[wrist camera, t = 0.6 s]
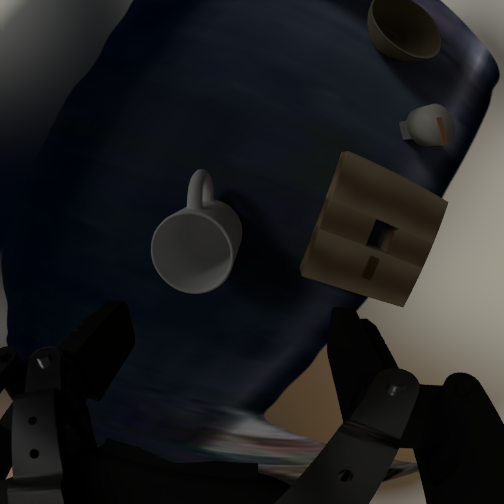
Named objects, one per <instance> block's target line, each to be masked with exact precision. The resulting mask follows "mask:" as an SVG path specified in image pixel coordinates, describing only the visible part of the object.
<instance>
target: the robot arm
mask: <svg viewBox="0 0 504 504" xmlns="http://www.w3.org/2000/svg"><path fill="white" fill-rule="evenodd" d="M134 344H135V333H134V329H133V326H132V322H131V318H130V314H129V310H128V306H127V304H126V303H125V302H122V301H111V300H108V301H106V302H105V303H104V304H103V305H102V306H101V307H100V308H99V309H98V310H97V311H96V312H94V313H93V314H91V315H89V316H87V317H86V318H85V319H84V320H83V321H82V322H81V325H78V326H77V328H76V329H75V330H74V331H73V332H72V333H71V334H70V335H69V336H68V337H67V338H66V339H65V340H64V341H63V342H62V343H61V344H60V345H59V346H58V347H57V348H54V347H45V348H42V349H39V350H37V351H36V352H34V353H33V354H32V355H31V356H30V358H29V359H20V358H19V356H18V354H17V352H16V350H15V349H14V348H13V347H10V346H6V347H2V348H0V393H1V392H2V390H3V389H4V388H5V390H6V391H7V393H8V394H9V396H10V397H11V399H12V400H13V403H12V404H11V405H10V407H9V408H8V409H7V411H6V412H5V414H4V415H3V417H2V418H1V419H0V504H369V502H370V501H371V499H372V498H373V496H374V494H375V493H376V491H377V489H378V488H379V486H380V484H381V482H382V481H383V479H384V477H385V475H386V473H387V471H388V470H389V468H390V466H391V464H392V462H393V460H394V458H395V456H396V454H397V451H398V449H399V448H413V450H414V454H415V458H416V461H417V465H418V469H419V473H420V477H421V481H422V485H423V490H424V494H425V498H426V503H427V504H504V424H503V422H502V420H501V418H500V416H499V415H498V413H497V411H496V409H495V407H494V406H493V404H492V402H491V400H490V399H489V397H488V395H487V394H486V392H485V390H484V389H483V387H482V386H481V384H480V382H479V381H478V380H477V379H476V378H475V377H473V376H472V375H469V374H467V373H453V374H452V375H450V376H448V377H447V378H446V380H445V382H444V384H443V386H439V385H423V384H419V382H418V380H417V378H416V377H415V376H414V375H413V374H412V373H410V372H408V371H406V370H403V369H399V368H398V366H397V364H396V362H395V360H394V358H393V356H392V354H391V352H390V351H389V349H388V347H387V345H386V344H385V341H384V340H383V338H382V336H381V334H380V332H379V330H378V329H377V327H376V325H374V324H373V323H372V322H370V321H369V320H368V319H360V318H359V316H358V314H357V312H356V310H355V308H354V307H353V306H344V307H333V309H332V313H331V320H330V328H329V335H328V342H327V353H328V359H329V363H330V367H331V371H332V375H333V379H334V384H335V388H336V392H337V396H338V401H339V405H340V410H341V414H342V419H343V424H342V425H341V426H340V427H339V428H338V430H337V431H336V433H335V434H334V435H333V437H332V438H331V439H330V441H329V442H328V443H327V444H326V446H325V447H324V448H323V450H322V451H321V452H320V453H319V455H318V456H317V457H316V458H315V460H314V461H313V462H312V463H311V464H310V466H309V467H308V468H307V469H306V470H305V471H304V473H303V474H302V475H301V476H300V477H299V478H298V479H297V480H296V482H295V483H294V484H293V485H292V486H291V485H289V484H288V483H286V482H284V481H282V480H279V479H277V478H274V477H271V476H268V475H265V474H261V473H258V463H237V462H224V461H208V462H195V463H172V462H169V461H167V460H164V459H162V458H160V457H158V456H156V455H154V454H152V453H149V452H147V451H145V450H143V449H142V448H140V447H137V446H133V445H129V444H126V443H122V442H119V441H115V440H112V439H109V438H107V439H106V441H105V443H104V445H103V447H101V446H100V447H98V446H97V443H96V440H95V436H94V432H93V428H92V424H91V419H90V415H89V410H88V406H87V404H86V403H85V401H86V400H87V398H89V399H92V400H95V401H99V402H100V400H101V398H102V397H103V395H104V393H105V392H106V390H107V388H108V387H109V385H110V384H111V382H112V380H113V379H114V377H115V376H116V374H117V372H118V371H119V369H120V368H121V366H122V365H123V363H124V361H125V360H126V358H127V357H128V355H129V354H130V352H131V351H132V349H133V347H134ZM346 422H347V423H346ZM11 467H13V477H11V478H8V479H6V477H7V475H8V473H9V471H10V469H11ZM5 479H6V480H5Z"/></svg>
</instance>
